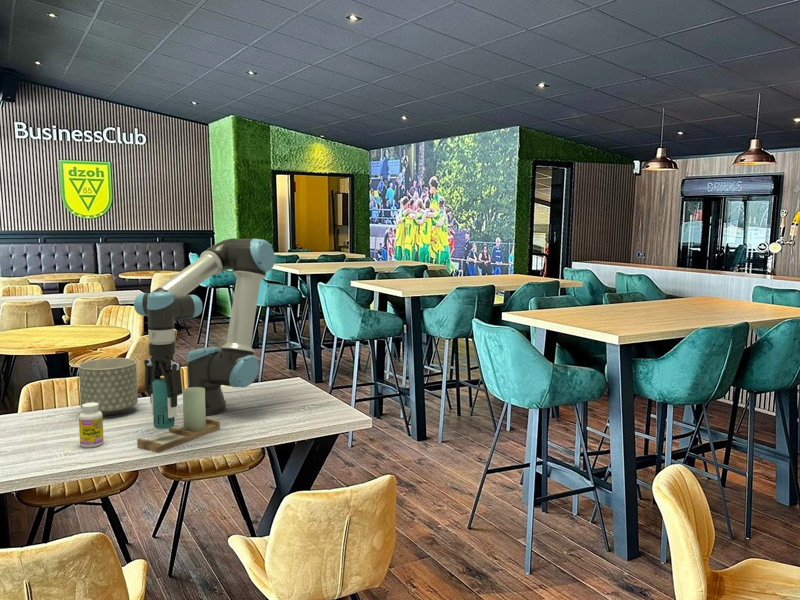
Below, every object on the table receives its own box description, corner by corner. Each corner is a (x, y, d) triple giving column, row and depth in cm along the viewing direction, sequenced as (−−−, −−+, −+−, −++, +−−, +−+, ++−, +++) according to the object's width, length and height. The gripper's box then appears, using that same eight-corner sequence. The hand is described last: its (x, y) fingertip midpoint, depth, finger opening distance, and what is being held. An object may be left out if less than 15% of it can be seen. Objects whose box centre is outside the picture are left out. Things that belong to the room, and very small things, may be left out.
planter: (139, 403, 249) (137, 356, 247) (136, 417, 231) (134, 367, 229) (84, 407, 243) (82, 359, 241) (77, 422, 225) (74, 370, 223)
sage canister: (179, 429, 213) (177, 390, 212) (195, 423, 220) (193, 386, 218) (194, 432, 210) (193, 393, 209) (210, 426, 216) (209, 388, 215)
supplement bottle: (79, 449, 198) (77, 408, 197) (80, 442, 204) (78, 402, 203) (103, 446, 201) (101, 406, 200) (103, 440, 207) (102, 400, 206)
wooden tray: (137, 447, 200) (137, 439, 200) (200, 425, 223) (199, 417, 223) (158, 452, 196) (157, 444, 196) (219, 429, 219) (219, 421, 219)
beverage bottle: (154, 435, 199) (152, 371, 197) (152, 429, 205) (149, 366, 203) (177, 432, 202) (175, 369, 200) (173, 426, 208) (171, 364, 206)
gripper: (129, 341, 202) (132, 413, 204) (174, 347, 193) (177, 423, 195) (149, 337, 208) (151, 407, 211) (194, 343, 199) (195, 416, 202)
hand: (164, 415), depth 203 cm, fingers closed on beverage bottle, 6 cm apart
